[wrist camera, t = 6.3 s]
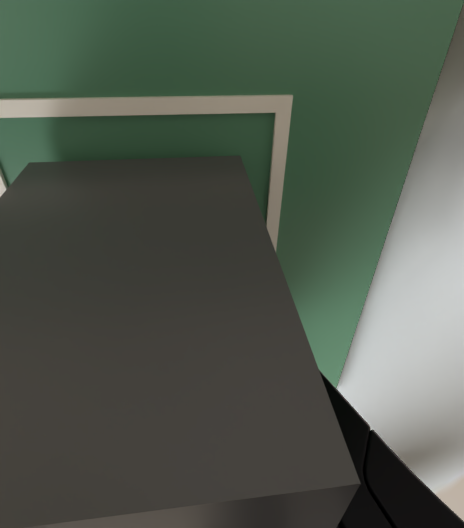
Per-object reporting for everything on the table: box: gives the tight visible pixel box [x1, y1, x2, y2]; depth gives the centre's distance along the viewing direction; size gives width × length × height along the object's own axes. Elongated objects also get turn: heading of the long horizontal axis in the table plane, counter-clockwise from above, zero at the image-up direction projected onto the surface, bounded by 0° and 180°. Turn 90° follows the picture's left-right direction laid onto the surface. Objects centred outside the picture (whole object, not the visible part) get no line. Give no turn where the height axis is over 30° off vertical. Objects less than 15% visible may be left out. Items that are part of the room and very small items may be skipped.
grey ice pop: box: [0, 156, 361, 528], centre depth 8 cm, size 11×4×6 cm, turn 179°
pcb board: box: [0, 0, 464, 388], centre depth 9 cm, size 16×12×4 cm
